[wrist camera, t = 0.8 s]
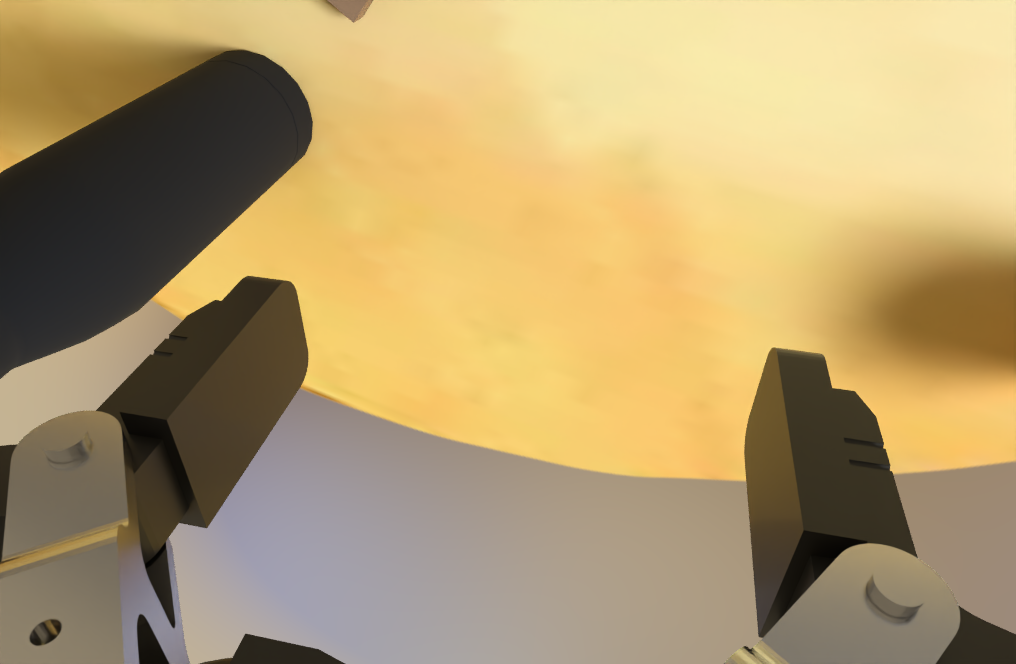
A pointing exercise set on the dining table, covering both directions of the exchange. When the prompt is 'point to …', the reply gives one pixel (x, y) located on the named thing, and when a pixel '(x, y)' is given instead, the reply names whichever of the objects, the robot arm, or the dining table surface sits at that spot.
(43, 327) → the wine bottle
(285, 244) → the dining table surface
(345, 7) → the board
